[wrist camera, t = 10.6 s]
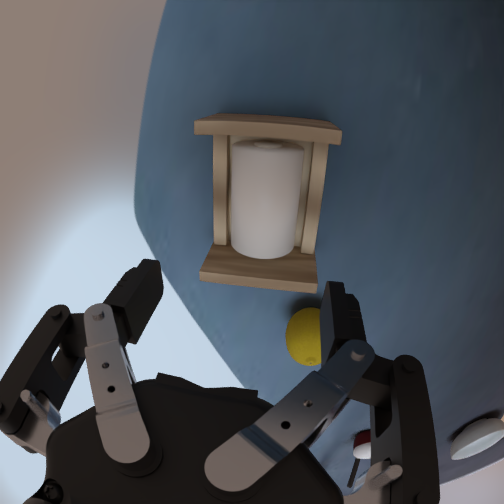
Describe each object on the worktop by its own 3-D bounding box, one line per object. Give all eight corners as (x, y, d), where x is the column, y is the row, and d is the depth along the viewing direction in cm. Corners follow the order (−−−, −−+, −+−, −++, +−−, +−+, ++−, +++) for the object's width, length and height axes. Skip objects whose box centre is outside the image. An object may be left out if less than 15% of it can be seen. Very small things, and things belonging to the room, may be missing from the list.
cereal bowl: (480, 409, 46) (486, 432, 40) (509, 407, 46) (516, 427, 40) (435, 441, 55) (439, 463, 49) (469, 438, 55) (474, 457, 49)
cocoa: (384, 422, 49) (392, 471, 38) (385, 433, 51) (392, 478, 41) (340, 433, 51) (343, 482, 41) (344, 443, 54) (347, 488, 43)
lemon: (284, 295, 34) (280, 347, 27) (331, 291, 33) (338, 343, 26) (289, 329, 37) (286, 380, 30) (333, 325, 36) (337, 376, 29)
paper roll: (269, 135, 25) (217, 140, 22) (318, 147, 22) (267, 152, 19) (263, 225, 30) (218, 241, 27) (306, 247, 27) (260, 269, 23)
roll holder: (217, 113, 25) (194, 120, 19) (329, 121, 24) (342, 131, 18) (217, 242, 32) (200, 280, 26) (312, 251, 31) (315, 293, 25)
